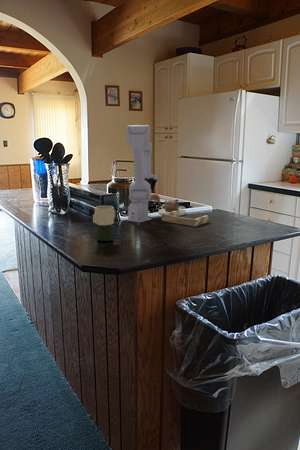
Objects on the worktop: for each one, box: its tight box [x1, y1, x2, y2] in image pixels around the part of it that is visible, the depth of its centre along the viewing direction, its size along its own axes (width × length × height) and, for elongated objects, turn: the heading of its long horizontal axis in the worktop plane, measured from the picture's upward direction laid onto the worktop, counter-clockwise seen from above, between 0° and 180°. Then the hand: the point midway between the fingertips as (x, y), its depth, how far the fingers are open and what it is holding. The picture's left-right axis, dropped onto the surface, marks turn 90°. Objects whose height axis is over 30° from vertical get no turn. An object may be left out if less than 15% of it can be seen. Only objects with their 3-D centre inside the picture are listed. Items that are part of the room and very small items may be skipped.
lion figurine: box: [149, 193, 162, 205], centre depth 213 cm, size 15×5×9 cm, turn 122°
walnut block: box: [164, 200, 180, 212], centre depth 193 cm, size 5×5×5 cm
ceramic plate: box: [158, 208, 187, 217], centre depth 194 cm, size 14×14×1 cm
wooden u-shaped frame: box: [161, 211, 209, 227], centre depth 176 cm, size 12×18×3 cm, turn 52°
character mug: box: [92, 205, 116, 242], centre depth 143 cm, size 11×7×13 cm, turn 139°
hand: (145, 192), depth 195 cm, fingers open, 7 cm apart
